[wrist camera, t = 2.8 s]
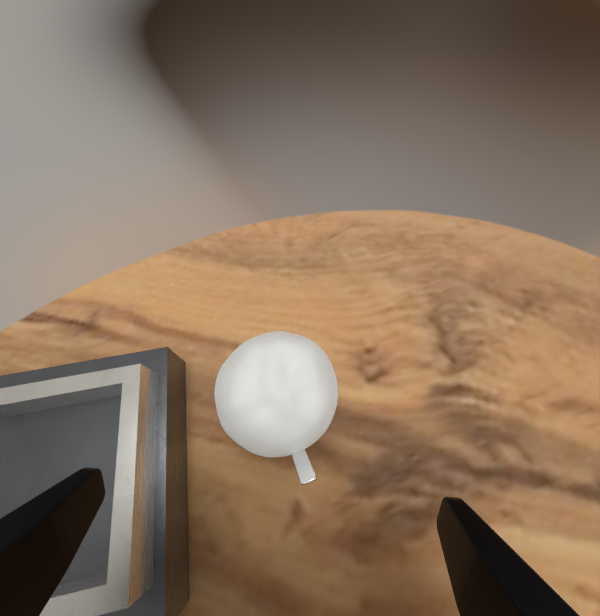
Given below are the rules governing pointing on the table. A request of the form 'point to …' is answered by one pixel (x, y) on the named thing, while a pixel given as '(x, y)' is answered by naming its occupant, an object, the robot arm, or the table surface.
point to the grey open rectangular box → (107, 475)
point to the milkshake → (277, 397)
